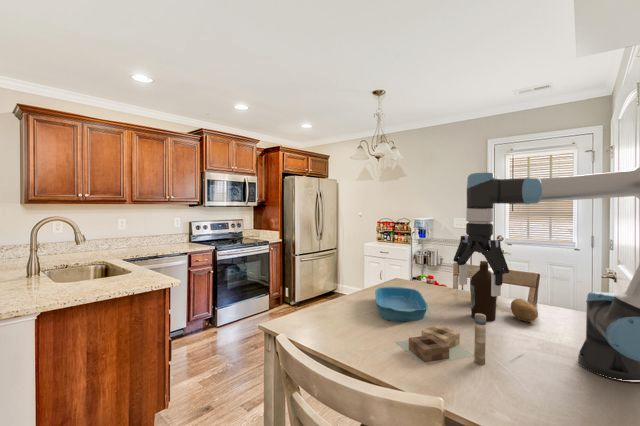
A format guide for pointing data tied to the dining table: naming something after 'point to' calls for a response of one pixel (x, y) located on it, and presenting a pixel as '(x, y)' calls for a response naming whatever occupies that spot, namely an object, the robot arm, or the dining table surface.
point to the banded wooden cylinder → (480, 339)
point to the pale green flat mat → (453, 354)
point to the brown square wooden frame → (428, 348)
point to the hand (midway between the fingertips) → (478, 289)
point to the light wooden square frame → (443, 335)
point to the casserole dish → (400, 304)
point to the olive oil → (482, 293)
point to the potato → (524, 310)
